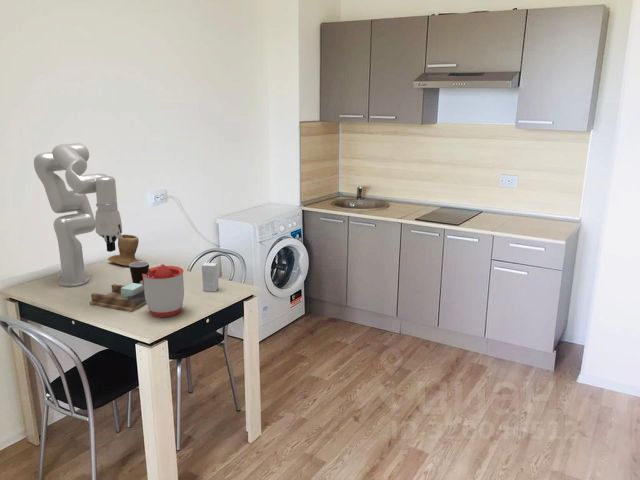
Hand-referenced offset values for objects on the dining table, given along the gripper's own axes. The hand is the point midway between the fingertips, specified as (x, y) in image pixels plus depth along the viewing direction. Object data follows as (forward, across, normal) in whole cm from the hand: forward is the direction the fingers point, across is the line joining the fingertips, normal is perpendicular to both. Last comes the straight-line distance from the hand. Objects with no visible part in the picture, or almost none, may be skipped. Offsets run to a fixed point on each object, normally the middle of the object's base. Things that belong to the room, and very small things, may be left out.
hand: (111, 250), depth 221 cm
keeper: (+20, +9, 0) cm, 22 cm away
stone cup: (+22, -31, +44) cm, 58 cm away
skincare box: (+22, +30, +26) cm, 45 cm away
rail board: (+22, +4, 0) cm, 22 cm away
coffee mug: (+22, -3, +21) cm, 30 cm away
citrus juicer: (+22, +26, -3) cm, 34 cm away
